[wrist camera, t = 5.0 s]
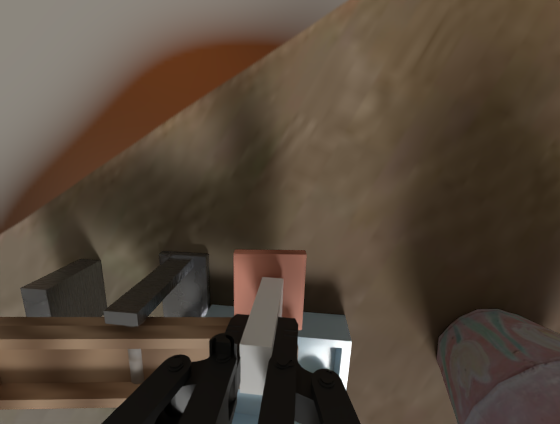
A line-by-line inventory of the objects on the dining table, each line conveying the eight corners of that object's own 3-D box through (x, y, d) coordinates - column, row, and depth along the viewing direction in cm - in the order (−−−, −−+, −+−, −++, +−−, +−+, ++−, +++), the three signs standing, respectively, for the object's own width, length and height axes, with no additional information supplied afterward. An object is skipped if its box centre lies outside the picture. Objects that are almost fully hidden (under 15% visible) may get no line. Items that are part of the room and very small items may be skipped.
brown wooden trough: (-7, 384, 21) (-72, 440, 17) (-44, 241, 18) (-133, 267, 14) (295, 380, 22) (301, 431, 18) (303, 246, 20) (312, 271, 16)
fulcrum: (168, 328, 30) (102, 417, 20) (163, 251, 28) (85, 307, 18) (210, 332, 30) (164, 424, 20) (208, 253, 28) (154, 312, 18)
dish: (214, 409, 33) (203, 444, 29) (211, 304, 29) (197, 328, 25) (333, 422, 31) (338, 460, 28) (344, 315, 28) (351, 341, 24)
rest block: (88, 309, 31) (33, 350, 25) (80, 258, 29) (20, 288, 23) (107, 311, 31) (57, 352, 24) (100, 260, 29) (45, 290, 23)
